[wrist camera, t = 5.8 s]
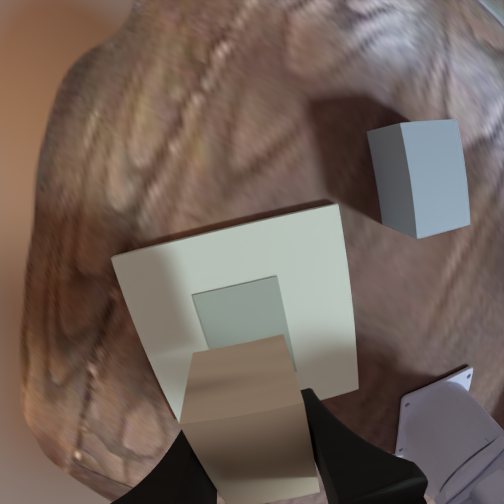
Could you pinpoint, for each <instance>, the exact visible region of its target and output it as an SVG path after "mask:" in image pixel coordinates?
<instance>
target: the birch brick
mask: <svg viewBox="0 0 504 504" xmlns="http://www.w3.org/2000/svg"><path fill="white" fill-rule="evenodd" d="M179 425H180V427H181V429H182V431H183V433H184V434H185V436H186V438H187V440H188V442H189V444H190V445H191V447H192V449H193V451H194V452H195V454H196V456H197V458H198V459H199V461H200V463H201V464H202V466H203V468H204V469H205V471H206V473H207V474H208V476H209V478H210V479H211V481H212V483H213V484H214V486H215V487H216V489H217V490H218V492H219V494H220V495H221V497H222V498H223V500H224V501H225V503H226V504H262V503H269V502H275V501H280V500H286V499H291V498H296V497H300V496H305V495H309V494H313V493H318V492H320V490H319V485H318V479H317V473H316V467H315V461H314V455H313V450H312V444H311V438H310V433H309V427H308V422H307V416H306V411H305V406H304V401H303V398H302V394H301V391H300V388H299V384H298V381H297V377H296V374H295V371H294V367H293V364H292V361H291V357H290V354H289V351H288V348H287V344H286V341H285V338H284V334H281V335H277V336H272V337H268V338H264V339H259V340H255V341H250V342H245V343H241V344H236V345H231V346H226V347H221V348H216V349H211V350H205V351H200V352H194V353H193V354H192V359H191V364H190V369H189V374H188V379H187V384H186V389H185V395H184V400H183V405H182V411H181V416H180V421H179Z"/></svg>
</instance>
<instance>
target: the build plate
mask: <svg viewBox="0 0 504 504" xmlns="http://www.w3.org/2000/svg"><path fill="white" fill-rule="evenodd" d="M111 260H112V263H113V267H114V270H115V273H116V276H117V279H118V282H119V284H120V287H121V290H122V293H123V296H124V299H125V301H126V304H127V307H128V309H129V312H130V315H131V317H132V320H133V323H134V325H135V328H136V330H137V333H138V335H139V338H140V340H141V343H142V345H143V347H144V350H145V352H146V354H147V357H148V359H149V361H150V364H151V366H152V368H153V370H154V373H155V375H156V377H157V379H158V381H159V383H160V386H161V388H162V390H163V392H164V394H165V396H166V398H167V400H168V402H169V404H170V406H171V408H172V410H173V412H174V414H175V416H176V418H177V420H178V422H179V421H180V416H181V411H182V405H183V400H184V395H185V389H186V384H187V379H188V374H189V369H190V364H191V359H192V354H193V353H194V352H200V351H205V350H211V349H216V348H221V347H226V346H231V345H236V344H241V343H245V342H250V341H255V340H259V339H264V338H268V337H272V336H277V335H281V334H284V338H285V341H286V344H287V348H288V351H289V354H290V357H291V361H292V364H293V367H294V371H295V374H296V377H297V381H298V384H299V388H300V390H303V389H307V388H311V389H313V391H314V393H315V394H316V396H317V397H318V398H319V400H324V399H327V398H331V397H334V396H338V395H341V394H345V393H348V392H351V391H354V390H357V389H359V385H358V367H357V352H356V339H355V327H354V317H353V307H352V297H351V289H350V280H349V272H348V265H347V258H346V250H345V244H344V237H343V231H342V224H341V218H340V212H339V206H338V204H336V203H333V204H328V205H324V206H319V207H314V208H310V209H305V210H301V211H296V212H292V213H287V214H283V215H278V216H274V217H269V218H265V219H260V220H256V221H252V222H247V223H243V224H239V225H235V226H230V227H226V228H222V229H218V230H213V231H209V232H205V233H201V234H197V235H193V236H189V237H185V238H181V239H177V240H173V241H169V242H165V243H161V244H157V245H153V246H149V247H145V248H141V249H137V250H133V251H129V252H126V253H122V254H118V255H114V256H113V257H111Z"/></svg>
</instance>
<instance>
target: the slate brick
mask: <svg viewBox="0 0 504 504" xmlns="http://www.w3.org/2000/svg"><path fill="white" fill-rule="evenodd" d="M367 137H368V142H369V146H370V151H371V156H372V162H373V167H374V173H375V178H376V184H377V190H378V197H379V204H380V211H381V218H382V225H384V226H387V227H389V228H392V229H394V230H397V231H399V232H402V233H404V234H406V235H409V236H411V237H413V238H416V239H419V238H423V237H427V236H430V235H434V234H438V233H441V232H445V231H449V230H452V229H456V228H460V227H463V226H467V225H470V212H469V199H468V188H467V179H466V170H465V163H464V156H463V150H462V144H461V138H460V133H459V127H458V122H457V119H453V120H433V121H419V122H406V123H398V124H394V125H390V126H386V127H382V128H378V129H375V130H371V131H367Z"/></svg>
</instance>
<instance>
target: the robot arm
mask: <svg viewBox="0 0 504 504" xmlns="http://www.w3.org/2000/svg"><path fill="white" fill-rule="evenodd" d="M472 373H473V368H472V367H471V366H468V367H466V368H464V369H462V370H460V371H458V372H456V373H454V374H452V375H450V376H448V377H446V378H444V379H442V380H439V381H437V382H435V383H433V384H430V385H428V386H426V387H424V388H421V389H419V390H416V391H414V392H412V393H409V394H407V395H405V396H403V397H402V399H401V406H400V417H399V426H398V435H397V443H396V450H395V455H392V454H390V453H388V452H385V451H383V450H381V449H380V448H378V447H376V446H374V445H372V444H370V443H368V442H367V441H365V440H364V439H362V438H361V437H359V436H358V435H356V434H355V433H354V432H352V431H351V430H350V429H348V428H347V427H346V426H345V425H344V424H342V423H341V422H340V421H339V420H338V419H337V418H336V417H335V416H334V415H333V414H332V413H331V412H330V411H329V410H328V409H327V408H326V407H325V406H324V404H323V403H322V402H321V401H320V400H319V398H318V397H317V396H316V394H315V393H314V391H313V389H311V388H307V389H303V390H300V391H301V394H302V398H303V401H304V406H305V411H306V416H307V422H308V427H309V433H310V438H311V444H312V450H313V455H314V460H315V463H316V465H317V468H318V470H319V473H320V475H321V478H322V481H323V484H324V488H325V492H326V496H327V499H328V503H329V504H427V502H426V500H425V498H424V494H425V493H426V494H427V495H428V496H430V497H431V498H433V499H434V501H435V503H436V504H504V430H503V429H502V428H501V427H500V426H499V425H498V423H497V422H496V421H495V420H494V419H493V418H492V417H491V416H490V414H489V413H488V412H487V411H486V410H485V409H484V408H483V407H482V406H481V405H480V404H479V402H478V401H477V400H476V399H475V398H474V397H473V396H472V395H471V394H470V393H469V392H468V391H469V387H470V382H471V378H472ZM402 456H405V457H406V458H407V460H406V459H403V458H400V457H402ZM111 504H217V489H216V487H215V486H214V484H213V483H212V481H211V479H210V478H209V476H208V474H207V473H206V471H205V469H204V468H203V466H202V464H201V463H200V461H199V459H198V458H197V456H196V454H195V452H194V451H193V449H192V447H191V445H190V444H189V442H188V440H187V438H186V436H185V434H184V433H183V431H182V429H181V431H180V433H179V434H178V436H177V438H176V439H175V441H174V443H173V444H172V446H171V447H170V449H169V450H168V451H167V453H166V454H165V456H164V457H163V458H162V460H161V461H160V462H159V463H158V464H157V466H156V467H155V468H154V469H153V470H152V471H151V472H150V473H149V474H148V475H147V476H146V477H145V478H144V479H143V480H142V481H141V482H140V483H139V484H138V485H137V486H135V487H134V488H133V489H132V490H130V491H129V492H128V493H126V494H125V495H123V496H122V497H120V498H119V499H117V500H116V501H114V502H112V503H111Z"/></svg>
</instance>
